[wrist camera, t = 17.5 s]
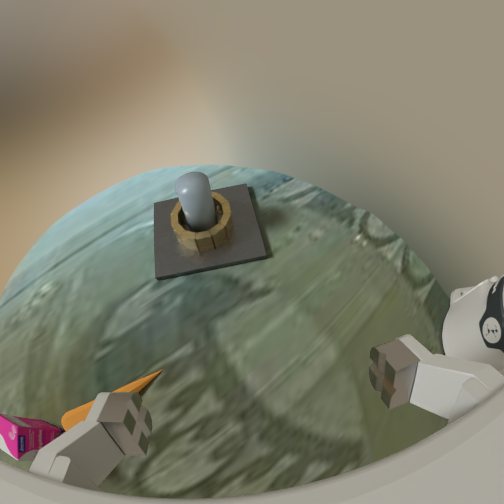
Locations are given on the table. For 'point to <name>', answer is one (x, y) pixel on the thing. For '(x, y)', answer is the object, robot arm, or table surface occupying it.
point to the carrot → (81, 412)
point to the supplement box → (25, 436)
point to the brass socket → (205, 238)
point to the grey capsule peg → (196, 201)
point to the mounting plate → (228, 253)
